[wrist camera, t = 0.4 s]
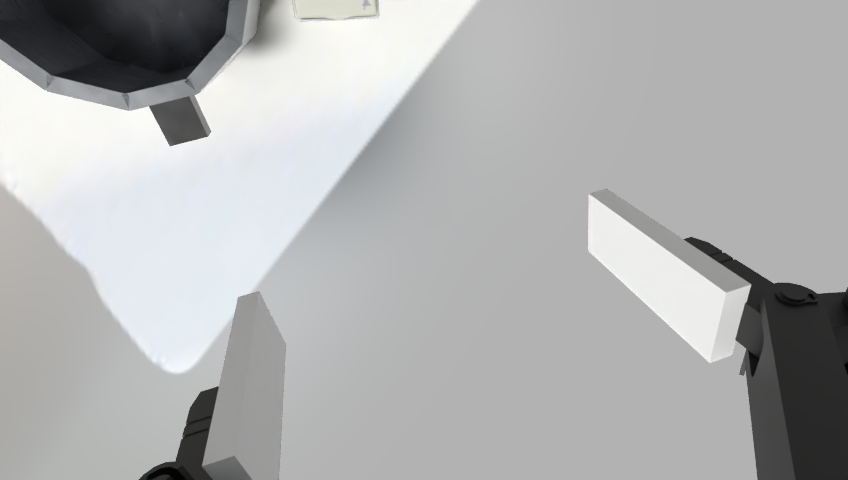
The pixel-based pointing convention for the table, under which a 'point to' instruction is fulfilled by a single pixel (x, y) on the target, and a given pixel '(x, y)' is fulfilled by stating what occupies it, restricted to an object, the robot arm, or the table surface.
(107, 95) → the pot
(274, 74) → the table surface
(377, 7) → the box
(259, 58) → the table surface
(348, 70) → the table surface
